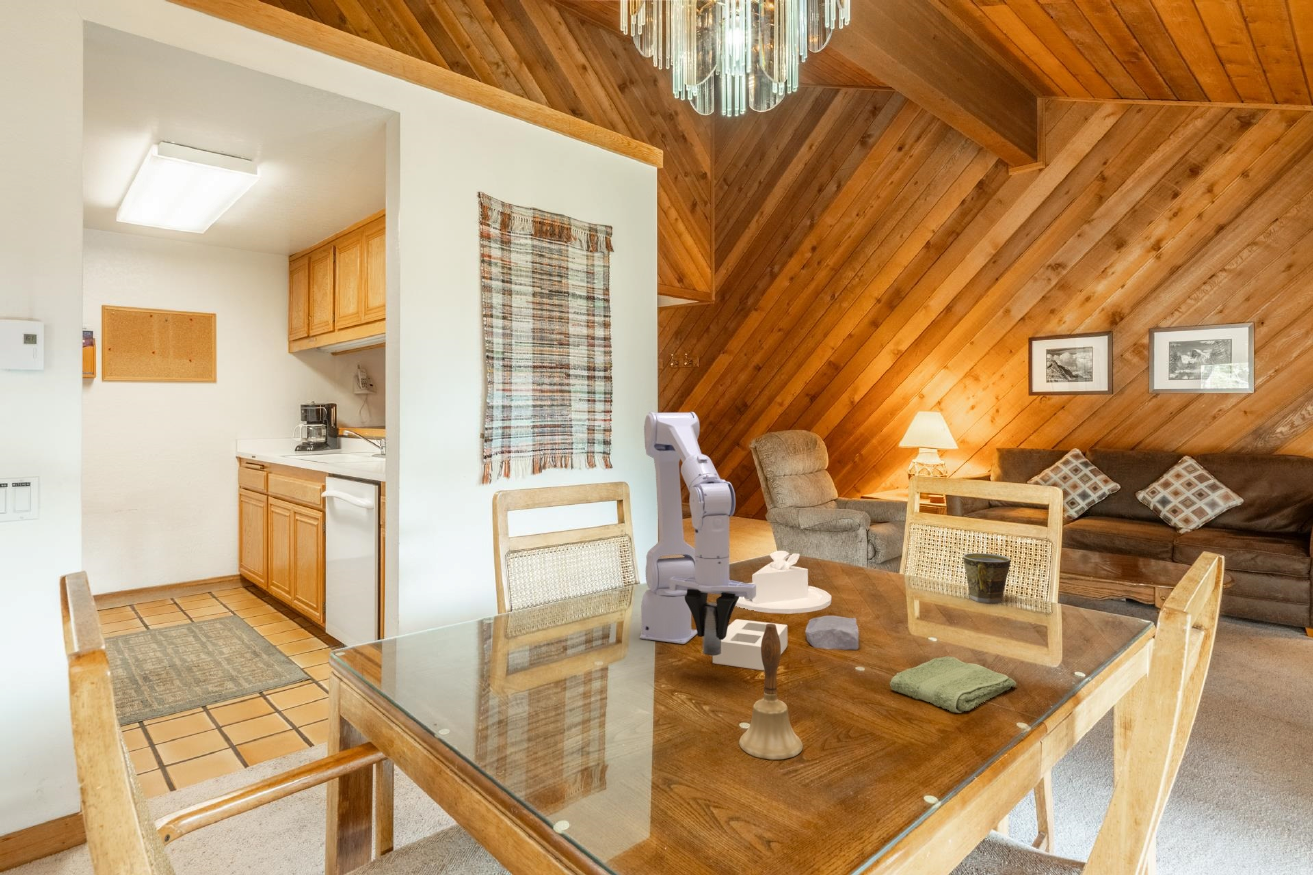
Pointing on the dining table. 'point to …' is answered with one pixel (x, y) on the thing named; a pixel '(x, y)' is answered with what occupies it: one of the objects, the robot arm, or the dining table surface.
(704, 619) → the peg
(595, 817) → the dining table surface
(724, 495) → the robot arm
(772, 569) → the dish
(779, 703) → the hand bell
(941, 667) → the washcloth
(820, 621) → the stone block
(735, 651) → the hole block
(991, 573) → the ceramic cup
